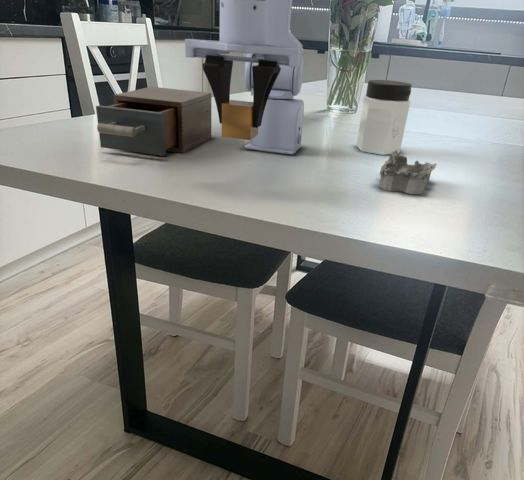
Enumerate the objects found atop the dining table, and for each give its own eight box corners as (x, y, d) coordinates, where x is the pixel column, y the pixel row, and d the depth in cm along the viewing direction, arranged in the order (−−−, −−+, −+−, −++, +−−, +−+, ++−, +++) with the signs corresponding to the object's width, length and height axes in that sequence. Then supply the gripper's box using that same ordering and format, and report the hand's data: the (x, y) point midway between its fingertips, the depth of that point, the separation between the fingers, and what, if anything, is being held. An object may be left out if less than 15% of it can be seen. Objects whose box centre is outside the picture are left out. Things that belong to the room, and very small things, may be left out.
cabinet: (183, 153, 85) (181, 102, 81) (118, 144, 87) (113, 94, 83) (211, 138, 97) (211, 92, 92) (154, 130, 99) (151, 86, 95)
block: (258, 134, 67) (259, 102, 64) (250, 140, 64) (251, 106, 61) (230, 131, 67) (231, 99, 65) (221, 136, 64) (221, 103, 62)
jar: (375, 156, 92) (389, 85, 85) (347, 147, 98) (357, 79, 91) (407, 152, 96) (422, 85, 90) (379, 144, 102) (391, 79, 95)
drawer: (150, 162, 75) (147, 118, 72) (85, 153, 78) (79, 110, 74) (193, 140, 90) (193, 103, 86) (138, 133, 92) (135, 96, 89)
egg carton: (389, 174, 82) (394, 148, 80) (433, 182, 79) (440, 156, 77) (372, 188, 74) (377, 160, 72) (421, 197, 71) (428, 169, 69)
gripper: (173, -6, 55) (178, 123, 63) (296, 2, 52) (285, 136, 60) (196, -3, 61) (197, 115, 68) (308, 4, 58) (297, 126, 66)
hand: (240, 124), depth 65 cm, fingers closed on block, 4 cm apart
